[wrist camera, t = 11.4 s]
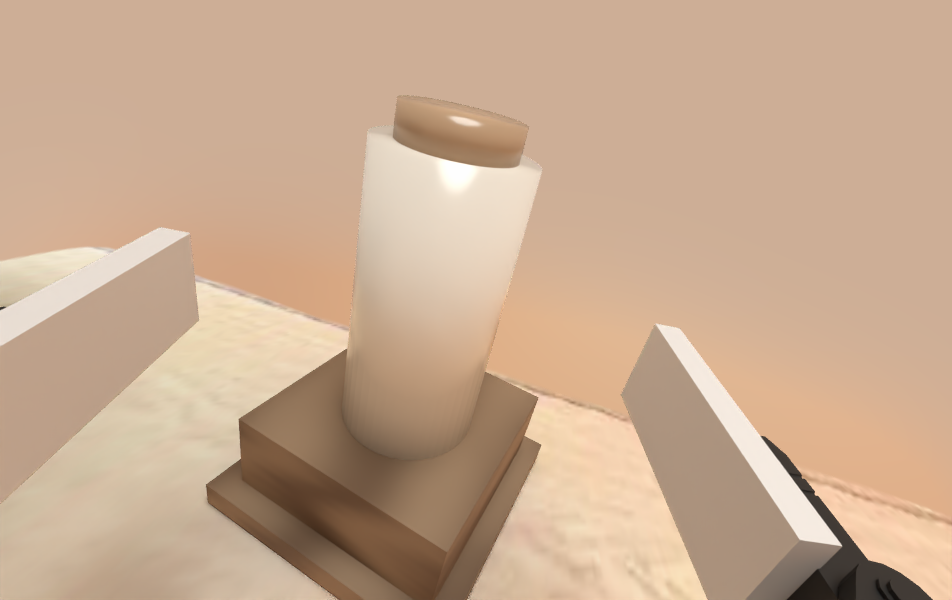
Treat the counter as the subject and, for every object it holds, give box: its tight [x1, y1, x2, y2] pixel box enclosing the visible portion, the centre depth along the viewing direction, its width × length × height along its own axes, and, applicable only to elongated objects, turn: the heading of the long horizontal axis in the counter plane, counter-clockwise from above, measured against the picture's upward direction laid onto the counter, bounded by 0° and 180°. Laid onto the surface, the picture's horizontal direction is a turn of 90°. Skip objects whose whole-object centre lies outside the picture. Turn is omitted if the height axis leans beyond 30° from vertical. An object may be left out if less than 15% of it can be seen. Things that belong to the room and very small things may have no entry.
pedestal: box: [206, 348, 541, 600], centre depth 22 cm, size 12×12×5 cm
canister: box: [342, 95, 542, 460], centre depth 18 cm, size 6×6×13 cm
